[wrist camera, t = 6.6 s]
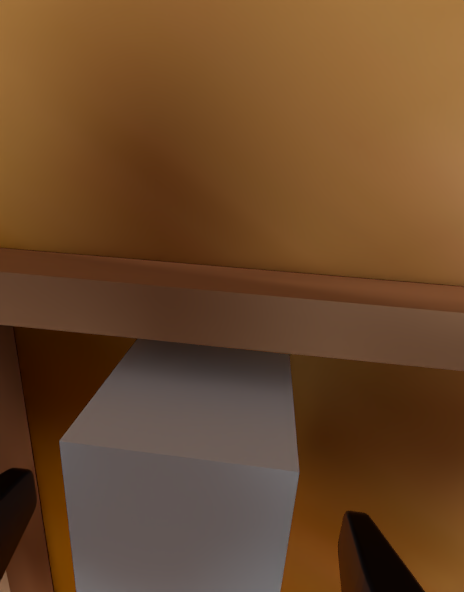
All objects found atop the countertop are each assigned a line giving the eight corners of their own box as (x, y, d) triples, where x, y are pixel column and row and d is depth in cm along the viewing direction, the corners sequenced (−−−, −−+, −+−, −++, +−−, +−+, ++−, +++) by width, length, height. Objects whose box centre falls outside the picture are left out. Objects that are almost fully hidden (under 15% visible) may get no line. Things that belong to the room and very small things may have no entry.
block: (273, 473, 11) (273, 631, 7) (141, 455, 11) (77, 599, 8) (289, 353, 10) (299, 472, 6) (138, 336, 10) (58, 441, 6)
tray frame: (365, 718, 14) (377, 791, 13) (36, 662, 15) (7, 723, 14) (501, 289, 9) (557, 321, 7) (-44, 244, 10) (-112, 262, 8)
